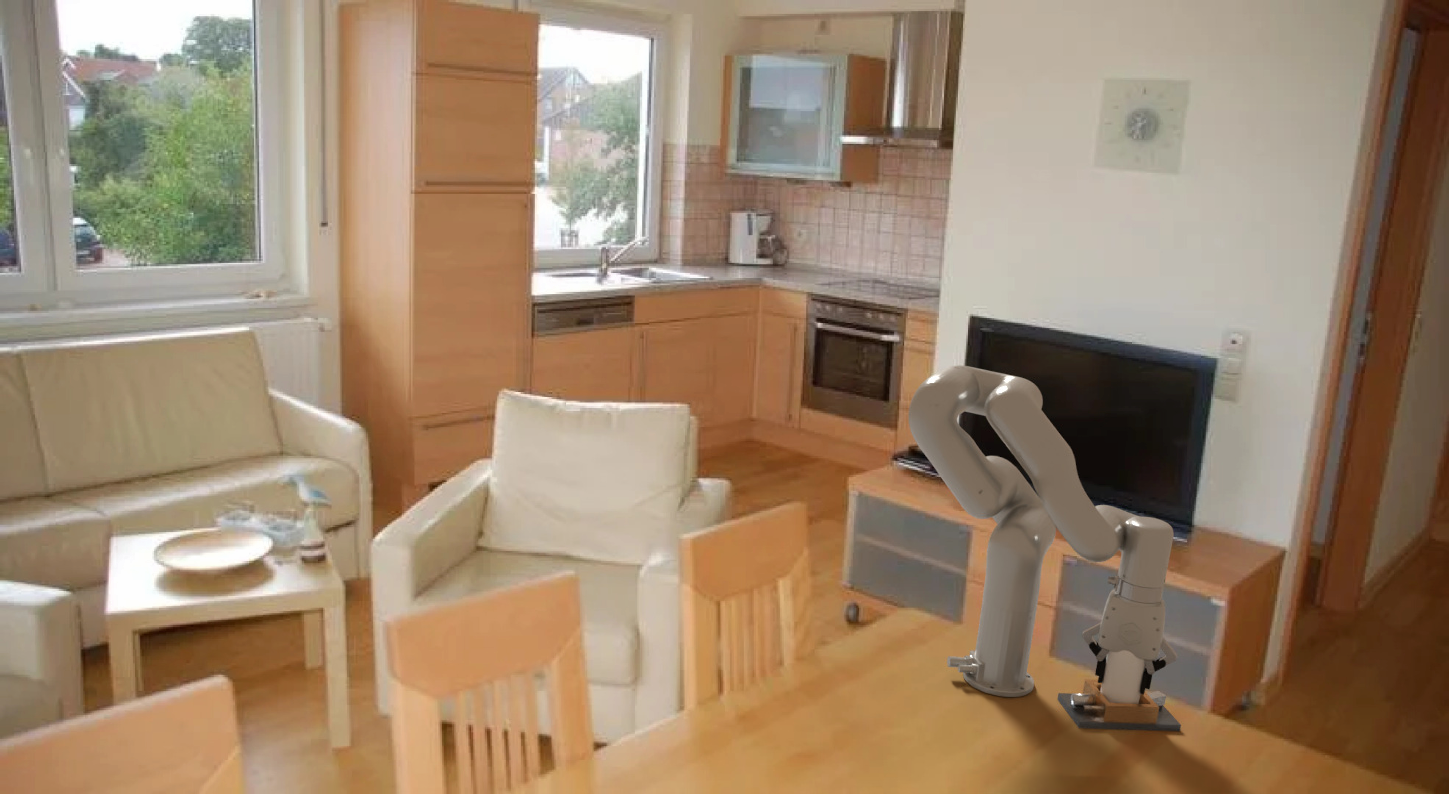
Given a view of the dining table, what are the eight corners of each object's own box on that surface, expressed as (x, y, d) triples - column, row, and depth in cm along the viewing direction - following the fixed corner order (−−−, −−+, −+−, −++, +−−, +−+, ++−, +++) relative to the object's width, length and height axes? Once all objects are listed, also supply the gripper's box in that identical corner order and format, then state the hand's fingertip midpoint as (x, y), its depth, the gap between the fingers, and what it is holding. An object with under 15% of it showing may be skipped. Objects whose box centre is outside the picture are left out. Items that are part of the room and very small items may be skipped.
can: (1139, 716, 200) (1152, 651, 197) (1100, 709, 201) (1112, 645, 198) (1134, 698, 206) (1146, 636, 203) (1097, 692, 207) (1108, 629, 204)
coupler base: (1078, 728, 198) (1082, 705, 197) (1057, 699, 208) (1060, 677, 207) (1179, 731, 200) (1184, 709, 199) (1153, 702, 210) (1157, 681, 209)
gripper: (1083, 584, 198) (1067, 680, 203) (1191, 609, 192) (1172, 708, 196) (1090, 570, 205) (1073, 664, 209) (1194, 594, 198) (1175, 690, 203)
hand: (1121, 685), depth 203 cm, fingers closed on can, 6 cm apart
